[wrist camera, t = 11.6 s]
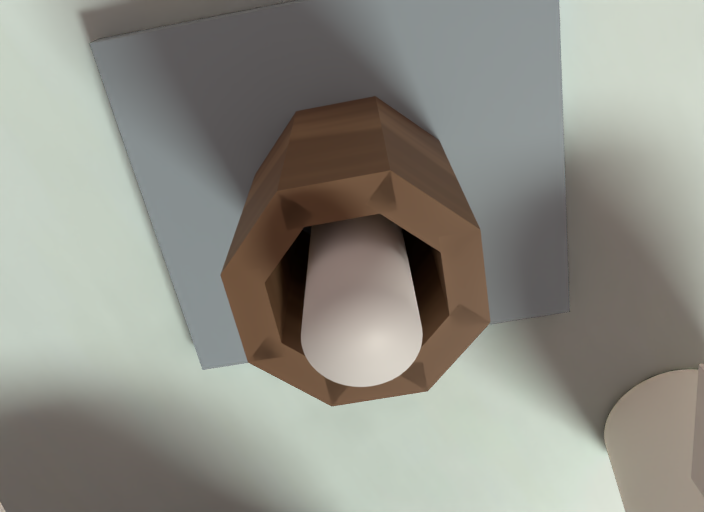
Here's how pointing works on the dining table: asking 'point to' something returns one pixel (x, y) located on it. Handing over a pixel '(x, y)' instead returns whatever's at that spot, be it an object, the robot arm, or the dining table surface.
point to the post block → (336, 87)
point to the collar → (346, 203)
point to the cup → (655, 444)
